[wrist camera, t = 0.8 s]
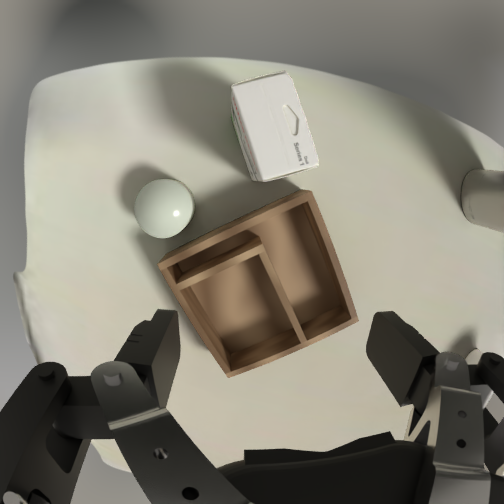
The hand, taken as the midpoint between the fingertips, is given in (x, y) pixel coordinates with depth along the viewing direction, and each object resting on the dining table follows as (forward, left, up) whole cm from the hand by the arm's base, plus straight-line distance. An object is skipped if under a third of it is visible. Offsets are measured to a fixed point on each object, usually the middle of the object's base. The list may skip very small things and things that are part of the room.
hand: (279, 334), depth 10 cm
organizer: (+1, +7, -23) cm, 24 cm away
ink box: (-6, -9, -24) cm, 26 cm away
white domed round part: (+7, -7, -23) cm, 25 cm away
